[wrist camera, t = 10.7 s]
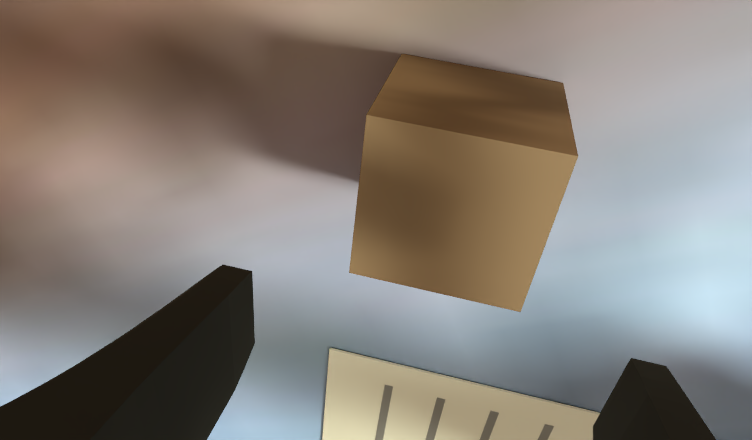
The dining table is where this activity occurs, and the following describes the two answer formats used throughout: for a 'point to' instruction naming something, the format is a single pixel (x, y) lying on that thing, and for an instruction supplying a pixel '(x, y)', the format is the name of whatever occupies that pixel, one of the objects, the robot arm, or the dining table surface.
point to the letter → (436, 406)
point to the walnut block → (461, 180)
